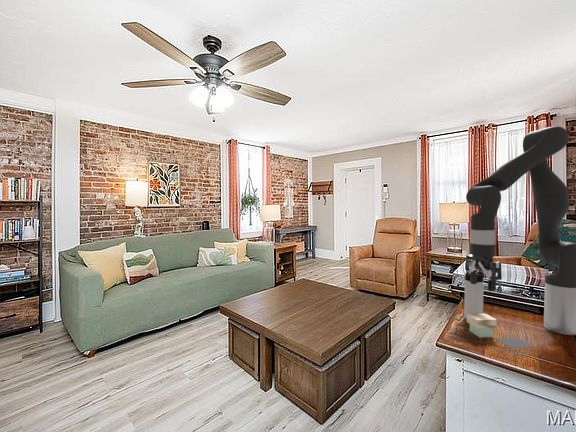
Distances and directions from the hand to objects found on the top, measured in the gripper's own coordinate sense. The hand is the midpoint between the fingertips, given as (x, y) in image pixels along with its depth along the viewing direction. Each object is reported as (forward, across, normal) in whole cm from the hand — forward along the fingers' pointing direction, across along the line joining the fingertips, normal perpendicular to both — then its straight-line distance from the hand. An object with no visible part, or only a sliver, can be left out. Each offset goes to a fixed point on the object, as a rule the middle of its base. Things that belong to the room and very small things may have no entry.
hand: (482, 287), depth 98 cm
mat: (+18, -6, -6) cm, 20 cm away
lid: (+14, 0, 0) cm, 14 cm away
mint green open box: (+18, 0, 0) cm, 18 cm away
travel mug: (+18, +12, -6) cm, 23 cm away
